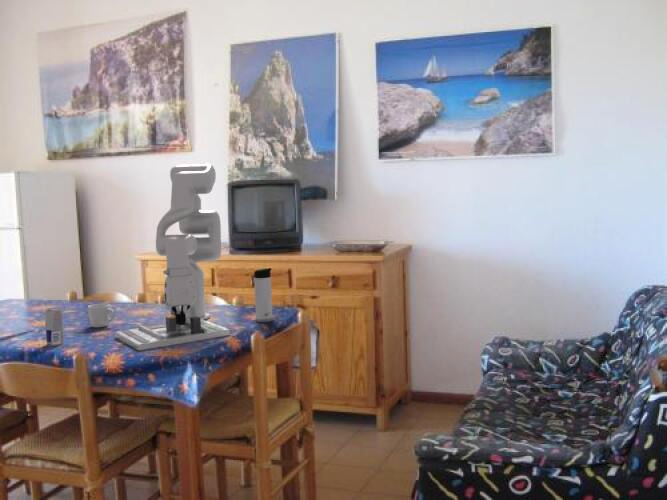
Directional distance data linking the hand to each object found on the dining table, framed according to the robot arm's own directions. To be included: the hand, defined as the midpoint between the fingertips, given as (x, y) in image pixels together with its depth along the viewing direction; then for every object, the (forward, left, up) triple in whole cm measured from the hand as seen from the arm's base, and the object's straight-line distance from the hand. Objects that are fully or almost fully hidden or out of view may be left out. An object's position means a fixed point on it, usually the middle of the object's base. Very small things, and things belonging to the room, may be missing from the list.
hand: (181, 324), depth 237 cm
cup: (-34, -17, -4) cm, 38 cm away
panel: (0, -3, -4) cm, 5 cm away
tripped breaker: (0, -4, -1) cm, 4 cm away
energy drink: (-16, -38, -4) cm, 42 cm away
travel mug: (-1, +34, -4) cm, 34 cm away
